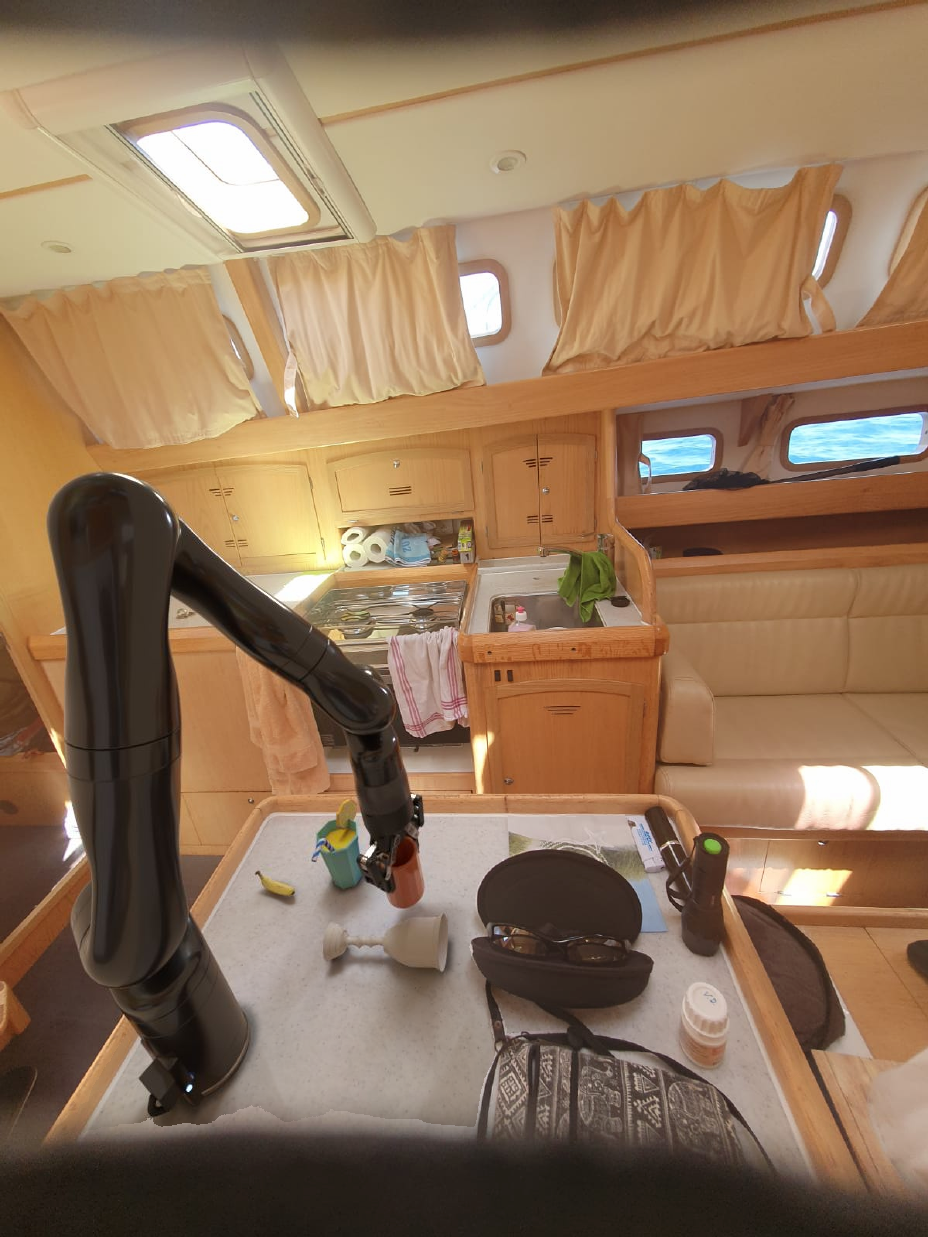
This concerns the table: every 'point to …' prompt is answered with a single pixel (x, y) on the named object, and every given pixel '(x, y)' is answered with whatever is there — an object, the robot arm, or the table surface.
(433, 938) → the chalice
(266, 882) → the banana
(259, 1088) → the table surface
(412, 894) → the tumbler
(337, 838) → the cup
